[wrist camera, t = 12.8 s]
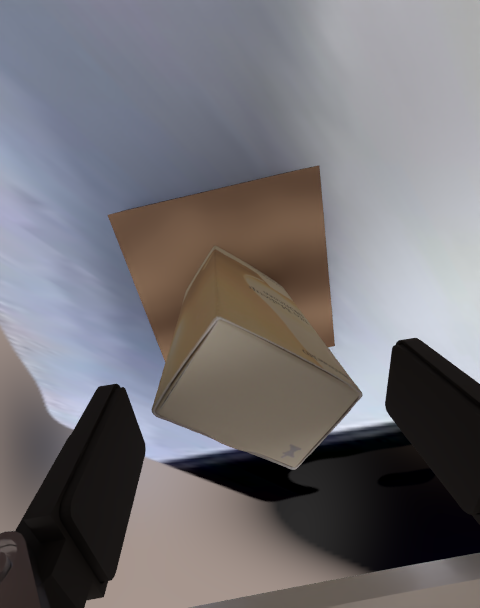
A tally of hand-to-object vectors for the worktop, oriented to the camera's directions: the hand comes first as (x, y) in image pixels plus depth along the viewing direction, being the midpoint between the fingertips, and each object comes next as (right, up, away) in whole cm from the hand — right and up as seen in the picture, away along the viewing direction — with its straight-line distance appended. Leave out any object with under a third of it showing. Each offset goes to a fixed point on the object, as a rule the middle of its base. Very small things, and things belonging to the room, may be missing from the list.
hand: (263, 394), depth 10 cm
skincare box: (-1, +4, +11) cm, 12 cm away
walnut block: (-2, +6, +15) cm, 17 cm away
